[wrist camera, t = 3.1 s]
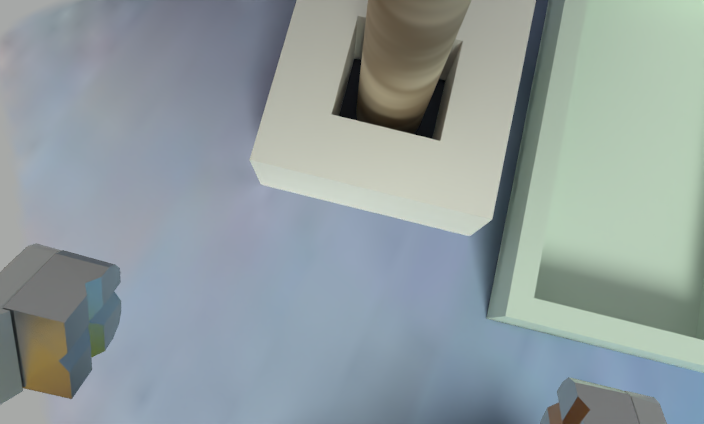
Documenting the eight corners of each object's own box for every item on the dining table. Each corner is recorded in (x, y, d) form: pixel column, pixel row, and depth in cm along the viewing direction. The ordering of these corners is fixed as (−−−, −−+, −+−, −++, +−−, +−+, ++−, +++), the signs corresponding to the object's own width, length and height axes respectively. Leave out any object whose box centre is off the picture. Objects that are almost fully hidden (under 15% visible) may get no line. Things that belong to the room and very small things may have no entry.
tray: (746, 1, 31) (790, -34, 28) (703, 372, 27) (749, 377, 24) (556, -44, 31) (580, -84, 28) (486, 318, 27) (505, 316, 24)
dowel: (428, 90, 29) (502, -101, 16) (414, 151, 29) (480, 1, 16) (364, 74, 29) (389, -128, 17) (349, 134, 29) (362, -28, 16)
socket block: (509, 44, 30) (536, 0, 26) (469, 236, 28) (492, 219, 24) (314, -3, 30) (312, -54, 26) (261, 184, 28) (249, 159, 24)
